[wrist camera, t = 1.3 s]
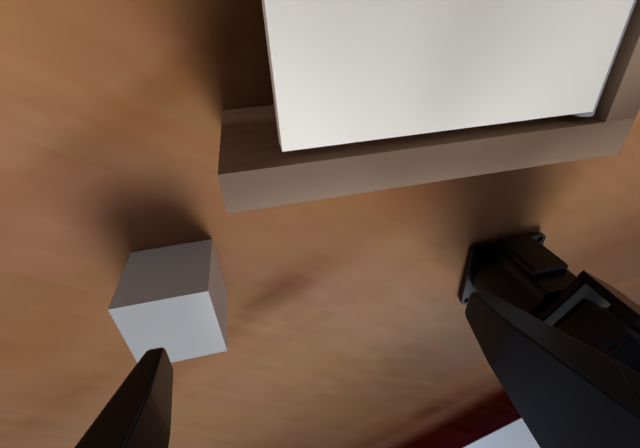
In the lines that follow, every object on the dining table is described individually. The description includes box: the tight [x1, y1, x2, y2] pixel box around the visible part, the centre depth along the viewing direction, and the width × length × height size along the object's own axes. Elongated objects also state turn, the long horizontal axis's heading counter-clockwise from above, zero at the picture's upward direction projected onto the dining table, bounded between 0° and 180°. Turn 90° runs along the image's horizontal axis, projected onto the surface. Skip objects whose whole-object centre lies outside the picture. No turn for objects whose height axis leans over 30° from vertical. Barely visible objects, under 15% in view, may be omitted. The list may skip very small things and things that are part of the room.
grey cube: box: [108, 239, 228, 363], centre depth 21 cm, size 5×5×5 cm
